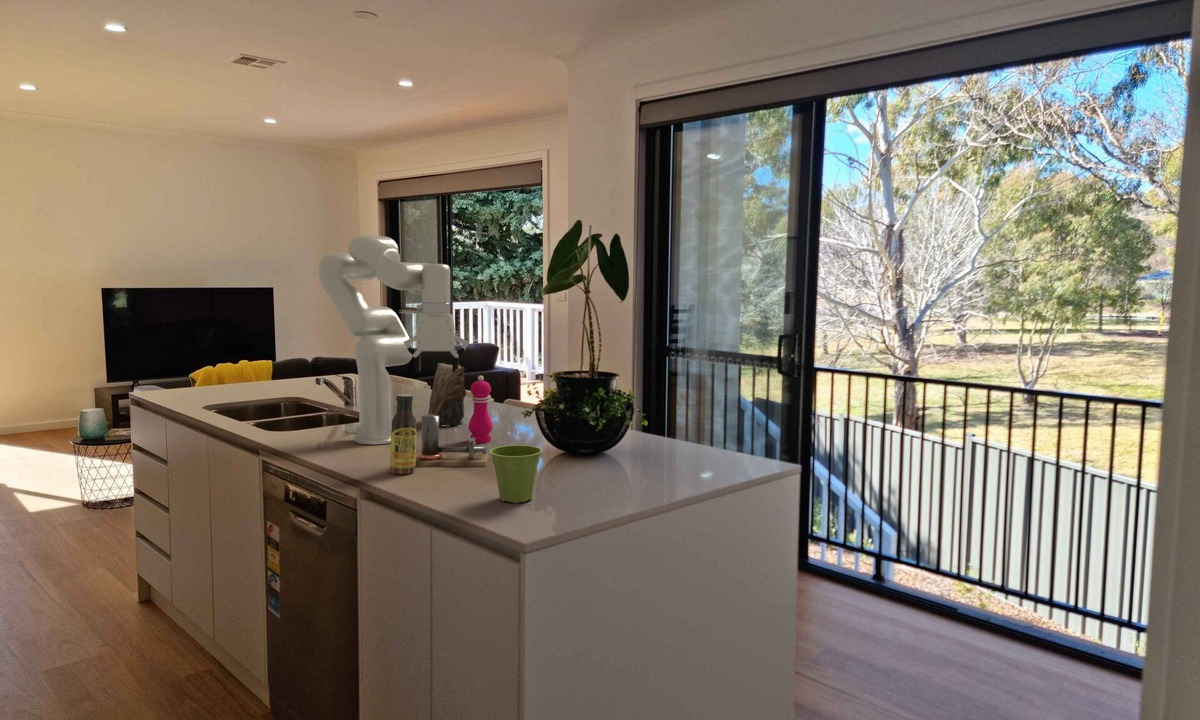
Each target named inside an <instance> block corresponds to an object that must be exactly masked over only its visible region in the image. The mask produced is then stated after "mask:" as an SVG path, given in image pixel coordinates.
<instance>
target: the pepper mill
mask: <svg viewBox="0 0 1200 720" xmlns="http://www.w3.org/2000/svg"><path fill="white" fill-rule="evenodd" d="M484 379H485V378H484V376H483V375H479V376H478V377H477V380H476V381H473V383H472V384H471V386H470V393H471V395H472V397H471V398H472V402H473V412H472V416H471V417H470V419H469V422H468V431H469V432H470V433H471V434H470V436H469V440H470V439H471V438H475V444H488V443H490V442H491V441H492V435H491V434H490V433H491V432H492V431H493V421H492V419H491V416H490V414H489V409H488V402H490V397H489V395H490V393H491V392H492V388H491V385H490V383H489V382H487V381H486V380H484ZM487 442H488V443H487Z"/></svg>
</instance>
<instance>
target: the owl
mask: <svg viewBox="0 0 1200 720" xmlns="http://www.w3.org/2000/svg"><path fill="white" fill-rule="evenodd" d="M436 366H437V368H436V371H435V374H434V380H433V383H432V390H431V393H430V398H429V407H428V413H427V415H439V426H442V425H461V424H463V421H462V420H463V418H464V417H465V405H464V403H465V402H464V401H465V398H466V395H467V390H466V388H465V374H464V373H465V370H466V369H465V367H464V366H461V364H458V369H456V372H452V364H447V363H443V362H442V363H441V362H438V363H437V365H436Z"/></svg>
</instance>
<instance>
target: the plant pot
mask: <svg viewBox="0 0 1200 720" xmlns="http://www.w3.org/2000/svg"><path fill="white" fill-rule="evenodd" d="M488 452H489V453H488V454H490V455H491V459H492V463H493V465H494V470H495V476H496V482H497V489H498V494H499V498H500V500H501V501H502V502H504V501H506V502H509V503H510V502H513V503H512V504H520V503H519V502H524V503H526V502H525V501H527V502H528V501H529V500H530V499H531V500H533V494H534V489H535V484H536V483H535V481H536V475H537V470H538V469H537V468H538V464H539V462H540V455H541V454H542V453H543V449H542V448H541V447H539V446H534V445H528V444H527V445H525V444H510V445H500V446H497V447H493V448H490V450H489V451H488Z"/></svg>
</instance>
